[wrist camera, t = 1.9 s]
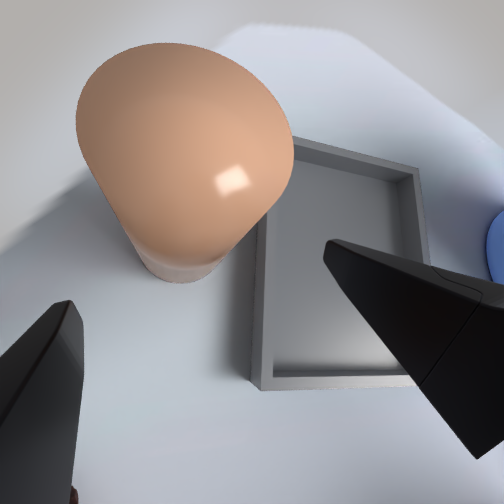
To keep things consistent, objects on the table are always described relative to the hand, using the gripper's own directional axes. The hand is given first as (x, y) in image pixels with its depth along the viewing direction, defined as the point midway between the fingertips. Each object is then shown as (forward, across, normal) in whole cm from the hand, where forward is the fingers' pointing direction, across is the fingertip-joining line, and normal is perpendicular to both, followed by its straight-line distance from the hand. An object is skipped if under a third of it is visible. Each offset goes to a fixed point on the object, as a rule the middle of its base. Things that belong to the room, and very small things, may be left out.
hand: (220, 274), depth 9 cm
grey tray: (+8, -13, +8) cm, 17 cm away
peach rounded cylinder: (+11, 0, +5) cm, 12 cm away
